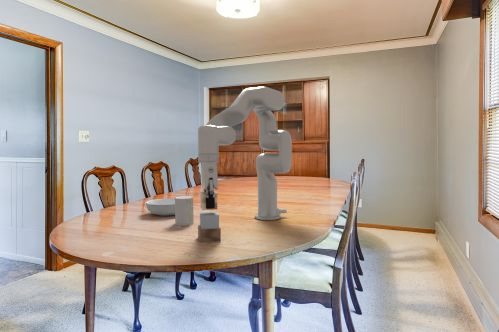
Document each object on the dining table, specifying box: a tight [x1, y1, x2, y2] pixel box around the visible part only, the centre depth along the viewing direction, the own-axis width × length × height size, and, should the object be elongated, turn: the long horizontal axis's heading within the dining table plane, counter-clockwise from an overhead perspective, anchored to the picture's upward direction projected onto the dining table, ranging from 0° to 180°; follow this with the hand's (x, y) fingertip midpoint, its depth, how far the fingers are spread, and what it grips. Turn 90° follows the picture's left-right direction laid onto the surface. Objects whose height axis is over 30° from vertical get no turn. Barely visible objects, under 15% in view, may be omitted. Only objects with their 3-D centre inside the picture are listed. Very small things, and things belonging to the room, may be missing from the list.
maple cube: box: [199, 190, 218, 211], centre depth 121 cm, size 6×6×6 cm
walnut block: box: [197, 224, 222, 244], centre depth 122 cm, size 8×8×5 cm
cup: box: [174, 195, 195, 227], centre depth 146 cm, size 8×8×12 cm
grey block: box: [199, 211, 220, 229], centre depth 121 cm, size 6×6×5 cm
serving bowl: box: [145, 198, 175, 217], centre depth 168 cm, size 21×21×7 cm
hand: (208, 206), depth 121 cm, fingers closed on maple cube, 5 cm apart
